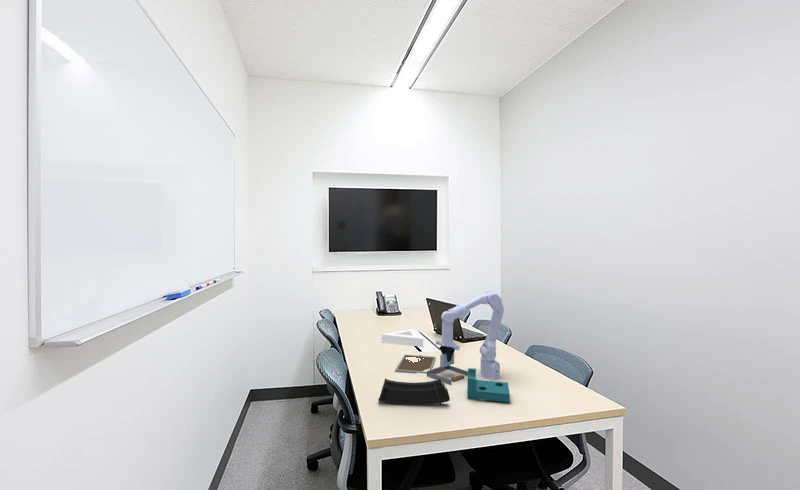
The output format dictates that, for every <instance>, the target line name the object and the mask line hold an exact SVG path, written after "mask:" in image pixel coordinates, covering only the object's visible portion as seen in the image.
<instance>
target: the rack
mask: <svg viewBox="0 0 800 490" xmlns="http://www.w3.org/2000/svg"><path fill="white" fill-rule="evenodd" d="M447 370H449V371H451V372H455V373H457V374H460V375H463V376H466V377H468V370H465V369H462V368H458V367H456V366H452V365H449V366H446V367H440V366H438V367H434V368H432V370H430V369H428V370H426V372H427V374H426V377H429V378H431V379H433V380H439V379H441V381H442V383H443V382H444V384H445V385H449V386H452V383H453V381H452V380H451V379H449V378H446V377H443V376H440V375H438V374H439V373H443V372H445V371H447Z"/></svg>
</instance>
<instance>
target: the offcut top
mask: <svg viewBox="0 0 800 490" xmlns="http://www.w3.org/2000/svg"><path fill="white" fill-rule="evenodd" d="M450 378H451V379H450V380H452V382H453V381H454V382H453V383H455V381H456V382H459V381H461V380H464V379H465V375H463V374H460V375H459V374H458V375H456V376H453V377H450ZM458 380H459V381H458Z"/></svg>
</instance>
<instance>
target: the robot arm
mask: <svg viewBox="0 0 800 490" xmlns="http://www.w3.org/2000/svg"><path fill="white" fill-rule="evenodd" d="M480 305H489V306H490V308H491V310H492V314H491V318H490V322H489V326H488V329H487V332H486V333H487V334H486V337H485V340H484V341H483V343H482V345H481V346H480V347H479V353H480V370H479V371H480V373H478V374H476V377H480V378H484V379H486V380H488V381H494V380H496V379H498V378H500V377H501V365H500V363H499V362H498V361H496V357H497V353H496V352H497V345H496V344H497V338H498V335H499V331H500V328H501V324H502V319H503V316H504V313H505V308H504V304H503V299H502V298H501V297H500V295H499V294H497V293H494V292H493V291H490V290H488V291H486V292H483V293H481V294H479V295H478V296H476V297H475V298H473V299H471V300H470V301H468V302H466V303H465V304H463V303H460V304H459V303H458V304H455V306H454V307H452V308H449V309H448V310H445V311H443V312H442V314H441V316H440V318H441V321H442V323H441V340H439V339H436V340H435V345H438V346H439V347H438V348H439V350H440V352H441V354H444V353H447V362H450V361H451V358H452V355H453V353H454V354H455V351H459V350H460V348H461V346H460V345H458V344H456V343H454V321H455V320H458V319H459V318H461V317H463V316H464V315H466V314H467V312H468V310H471V309H473V308H475V307H477V306H480Z"/></svg>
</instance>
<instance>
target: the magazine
mask: <svg viewBox="0 0 800 490" xmlns="http://www.w3.org/2000/svg"><path fill="white" fill-rule="evenodd" d="M448 390H449V389H448V388H447V387H446V383H444V382H442V381H441V379H439V380H436V379H433V380H429V381H422V382H421V381H420V382H419V381H418V382H407V381H395V380H390V379H387V378H384V381H383V385H382V388H381V391H380V395H379V396H378V400H377V401H378V402H383V403H388V404H395V405H401V406H402V405H403V406H418V407H419V406H420V407H421V406H430V405H431V406H432V405H440V406H442V404H443V403H448V402H449V401H450V399H451V397H450V393H449V391H448Z"/></svg>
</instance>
